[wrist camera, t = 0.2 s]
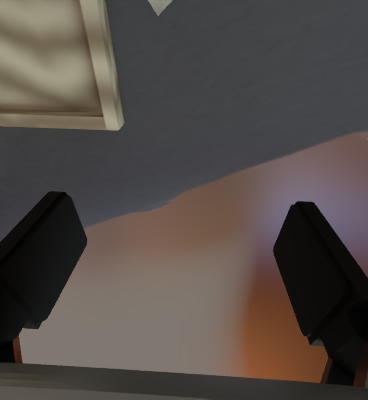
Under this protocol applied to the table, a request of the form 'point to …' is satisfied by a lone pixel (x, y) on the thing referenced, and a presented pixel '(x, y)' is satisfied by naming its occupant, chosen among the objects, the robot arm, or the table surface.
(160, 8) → the condiment
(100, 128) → the tray
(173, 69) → the table surface
